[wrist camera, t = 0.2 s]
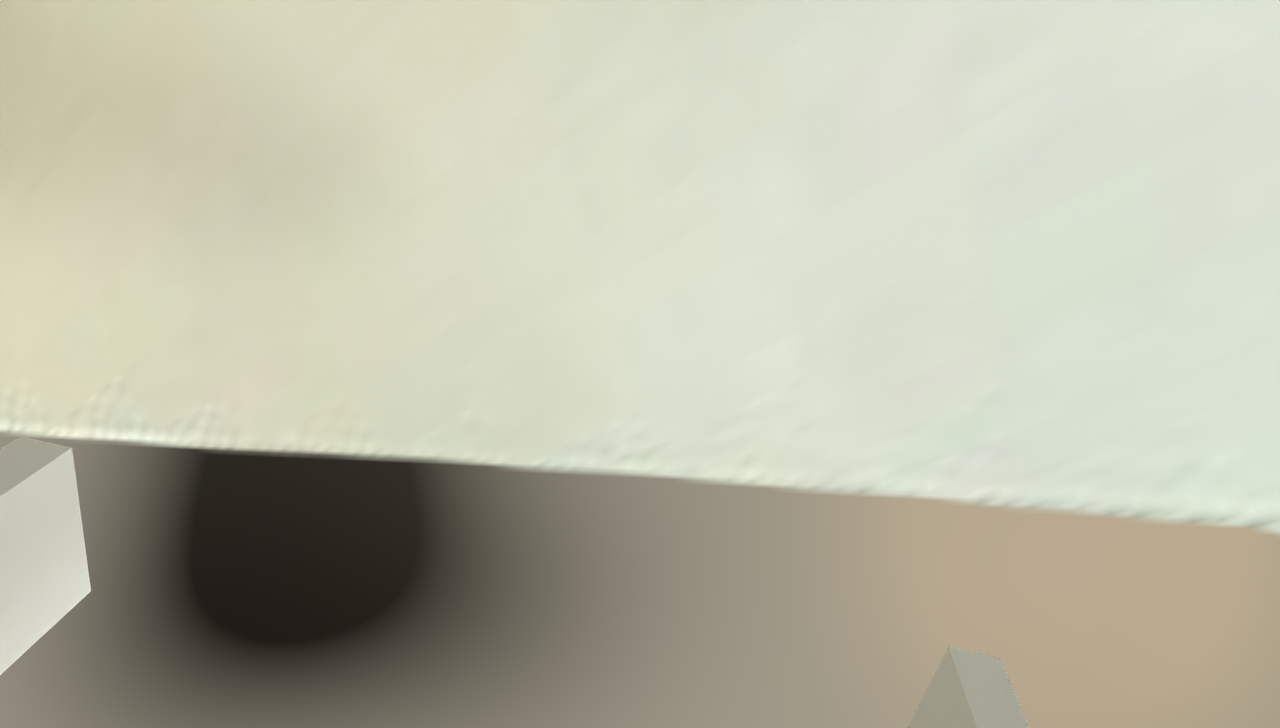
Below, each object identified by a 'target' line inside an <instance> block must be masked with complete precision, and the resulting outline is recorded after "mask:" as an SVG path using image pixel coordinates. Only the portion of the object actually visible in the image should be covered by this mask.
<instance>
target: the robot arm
mask: <svg viewBox="0 0 1280 728" xmlns="http://www.w3.org/2000/svg"><path fill="white" fill-rule="evenodd" d="M90 591H91V588H90V581H89V573H88V565H87V558H86V550H85V543H84V535H83V528H82V521H81V513H80V505H79V499H78V490H77V484H76V476H75V469H74V460H73V453H72V448H70V447H66V446H61V445H57V444H53V443H48V442H44V441H39V440H35V439H31V438H26V437H22V436H20V437H19V438H17V439H16V440H14V441H12V442H11V443H9V444H7V445H6V446H4V447H3V448H1V449H0V675H1V674H2V673H3V672H4V671H5V670H6V669H7V668H8V667H9V666H10V665H12V664H13V663H14V662H15V661H16V660H17V659H18V658H19V657H20V656H21V655H22V654H23V653H24V652H26V651H27V650H28V649H29V648H30V647H31V646H32V645H33V644H34V643H35V642H36V641H37V640H39V639H40V638H41V637H42V636H43V635H44V634H45V633H46V632H47V631H48V630H49V629H50V628H51V627H53V626H54V625H55V624H56V623H57V622H58V621H59V620H60V619H61V618H62V617H63V616H64V615H66V614H67V613H68V612H69V611H70V610H71V609H72V608H73V607H74V606H75V605H76V604H77V603H78V602H80V601H81V600H82V599H83V598H84V597H85V596H86V595H87V594H88V593H89V592H90ZM908 728H1029V725H1028V723H1027V721H1026V718H1025V716H1024V714H1023V711H1022V709H1021V706H1020V704H1019V702H1018V699H1017V697H1016V695H1015V692H1014V690H1013V688H1012V685H1011V683H1010V681H1009V678H1008V676H1007V674H1006V671H1005V669H1004V666H1003V664H1002V662H1001V659H1000V658H998V657H994V656H989V655H985V654H981V653H976V652H972V651H967V650H963V649H959V648H954V647H948V648H947V650H946V652H945V654H944V657H943V658H942V660H941V663H940V665H939V666H938V668H937V670H936V672H935V675H934V676H933V678H932V680H931V683H930V684H929V686H928V688H927V690H926V692H925V694H924V696H923V698H922V700H921V702H920V704H919V706H918V708H917V710H916V712H915V714H914V716H913V718H912V720H911V722H910V724H909V727H908Z"/></svg>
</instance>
